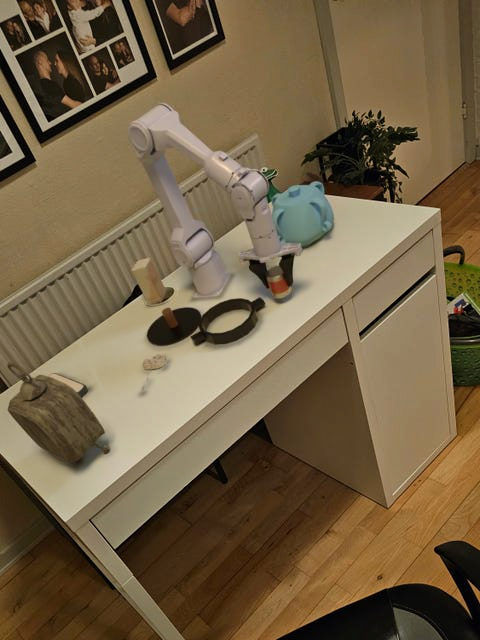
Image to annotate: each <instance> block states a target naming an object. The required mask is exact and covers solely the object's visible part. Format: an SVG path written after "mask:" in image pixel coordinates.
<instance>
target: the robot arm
mask: <svg viewBox="0 0 480 640" xmlns="http://www.w3.org/2000/svg"><path fill="white" fill-rule="evenodd" d="M180 116H181V115H180V114H179V112H178V111H176V110H175V109H173V107H172V106H170V105H169V104H167V103H166V102H159V103H157V104H156V105H155V107H153V108H151V109H150V110H148V111H147V112H146V113H145V114H143V115H141V116H140V117H139V118H137V119H136V120H133V121H131V122H130V123H129V125H128V127H127V128H128V129H127V132H126V133H127V134H126V136H127V139H128V141H129V143H130V145H131V147H132V150H133V152H134V153H135V155H136V157H137V159H138V161H139V162H140V163H141V165H142V167H143V169H144V171H145V173H146V175H147V177H148V179H149V181H150V183H151V185H152V187H153V189H154V191H155V193H156V195H157V197H158V200H159V202H160V203H161V206H162V208H163V210H164V212H165V214H166V216H167V218H168V221H169V222H170V224H171V226H172V232H171V234H170V238H169V243H170V247H171V248H172V249H171V250H172V254H173V258H174V259H175V261H176V262H177V264H178V265H180V266H181V267H183V268H185V269H187V271H188V274H189V276H190V277H191V281H192V283H193V285H194V287H195V293H194V294H193V296H192V298H193V299H197V298H207V297H208V298H209V297H215V296H216V297H217V296H219V295H220V294H221V293H222V291H223V289H224V287H225V285H226V284H227V282H228V280H229V278H230V277H231V274H230V273H228V272H227V270H226V267H225V265H224V263H223V260H222V257H221V255H220V253H218V252H217V250H215V249H213V248H214V247H215V239H214V236H213V234H212V233H211V231H210V230H209V229H208V228H207V226H206V224H205V221H203V220H200V219H194V217H193V214H192V212H191V210H190V208H189V205H188V203H187V202H186V199H185V197H184V195H183V193H182V191H181V188H180V186H179V184H178V181H177V179H176V177H175V175H174V173H173V171H172V169H171V166H170V165H169V162H168V159H167V158H166V156H165V154H166V150H168V149H175V150H177V151H178V152H179V153H181V154H182V155H184V156H186V157H187V158H189V159H191V160H192V161H194V162H195V163H197V164H198V165H200V166H201V167H203V171H204V175H205V176H206V178H208V179H209V180H210V181H212V182H213V183H214V184H216V185H217V186H218V187H220V188H221V189H223V190H224V191H225V192H227V193H228V194H229V195H230V200H231V203H232V204H233V206H234V207H235V208H236V209H237V210H238V212H239V215H240V217H241V218H242V219H244V222H245V226H246V228H247V232H248V235H249V239H250V241H251V243H252V248H249V249H246V250H241V251H240V252H239V253H238V255H237V258H238V261H239V263H240V264H245V263H246V262H248V270H249V271H250V272H252V273H253V274H254V275H255V276H256V277H257V278H258V279H259V281H260V282H261V283H262V285H263V286H264V287H265V289H266V290H268V289H269V290H270V288H269V285H268V282H267V279H266V276H265V274H266V272H267V270H268V266H267V263H269V261H270V260H273V259H276V258H280V260H279V262H278V266H280V267H281V269H282V271H283V273H284V275H285V279H286V282H287V285H288V287H290V286H291V287H292V286H293V283H294V263H295V257H301V255H302V253H303V246H301V243H298V244H291V243H280V241H279V238H278V234H277V231H276V228H275V224H274V221H273V218H272V211H271V208H270V203H269V202H268V198H267V195H268V194H269V191H270V182H269V181H268V178H267V177H266V175H265V174H264V173H263V172H262V171H261V170H259V169H257V168H249V167H244V166H242V165H241V164H240V163H238V162H237V161H236V160H235V159H233V158H232V157H231V156H229V154H227V153H226V152H224V151H223V150H216V151H213V150H212V149H210V147H208V146H207V145H206V144H205V143H204V142H203V141H201V139H199V138H198V137H197V136H196V135H195V134H194V133H193V132H192V131H190V130H189V129H188V128H187V127H186V126H185V125H183V122H182V119H181V117H180Z"/></svg>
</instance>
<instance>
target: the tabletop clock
mask: <svg viewBox="0 0 480 640" xmlns="http://www.w3.org/2000/svg"><path fill="white" fill-rule="evenodd" d="M6 365H7V366H6V367H7V368H8V370H9V371H10V372H11V373H12V374H13V375H14V376H15V377H16V378H17V379H19V380H20V381H22V383H21V386H20V387H19V392H18V393H17V394H16V395H14V396H13V397H12V398H11V399H10V400H9V403H8V407H7V412H8V413H9V415H10V416H11V417H12V419H14V420H15V422H16V423H17V424H18V425H19V427H20V428H21V429H22V430H23V431H24V432H25V434H27V436H29V438H30V439H31V440H32V442H34V443H35V444H36V445H37V446H38V447H39V448H41V450H43V451H45V452H47V453H49V454H51V455H52V456H54V457H56V458H58V459H59V460H61V461H64V462H67V463H70V462H72V463H77V462H79V460H80V459H81V458H82V457H83V456H84V455H85V453H87V452H88V451H89V449H91V448H92V447H94V448H98V449H100V451H101V453H103V454H108V453H109V451H110V447H109V446H108V445H106V444H105V445H104V444H103V445H101V444H98V443H97V441H98V440H99V439H100V438H101V437H102V436H103V435H105V433H106V432H105V428H104V426H103V425H102V424H101V422H100V421H99V419H98V418H97V416H96V415H95V413H94V412H93V410H91V408H90V407H89V405H88V404H87V403H86V401H85V400H84V399H83V398H82V396H81V397H80V396H79V394H78V393H77V392H76V391H75V390H74V389H73V388H72V387H70V386H68V385H67V384H65V383H63V382H61V381H58V380H56V379H54V378H51V377H48V376H49V375H44V374H38V375H37V376H35V377H32V376H31V374H30V373H29V372H28V371H27V370H26V369H24V368H23V367H22V366H20V365H19V364H17V363H15V362H11V361H10V362H8V363H7V364H6ZM13 368H14V369H17V370H19V371H20V372H22V374H19V373H17V372H16V371H14V369H13Z"/></svg>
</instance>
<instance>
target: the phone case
mask: <svg viewBox="0 0 480 640" xmlns="http://www.w3.org/2000/svg"><path fill="white" fill-rule="evenodd" d="M47 376H48V377H51V378H54V379H56V380H58V381H61V382H63V383H65V384H67V385H68V386H70V387H72V388H73V389H74V390H75V391H76V392H77V393H78V394H79V396H80V397H81V398H82V397H83V396H84V395H85V394H86V393H87V392H88V387H87V386H86V384H84V383H82V382H79V381H77V380H74V379H71V378H69V377H66V376H64V375H62V374H59V373H56V372H53V373H50V374H49V375H47Z"/></svg>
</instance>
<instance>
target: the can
mask: <svg viewBox="0 0 480 640" xmlns="http://www.w3.org/2000/svg"><path fill="white" fill-rule="evenodd" d="M265 276H266V279H267V282H268V285H269V291H270V293H271V296H272V297H273V298H274V299H282V298H285V297H287V296H288V295H290V294H291V293H292V290H293V289H292V286H290V287H288V285H287V282H286V279H285V275H284V273H283V271H282V269H281V267H280V266H279V265H275V266H272V267H270V268H269V269H267V272H266V274H265Z"/></svg>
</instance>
